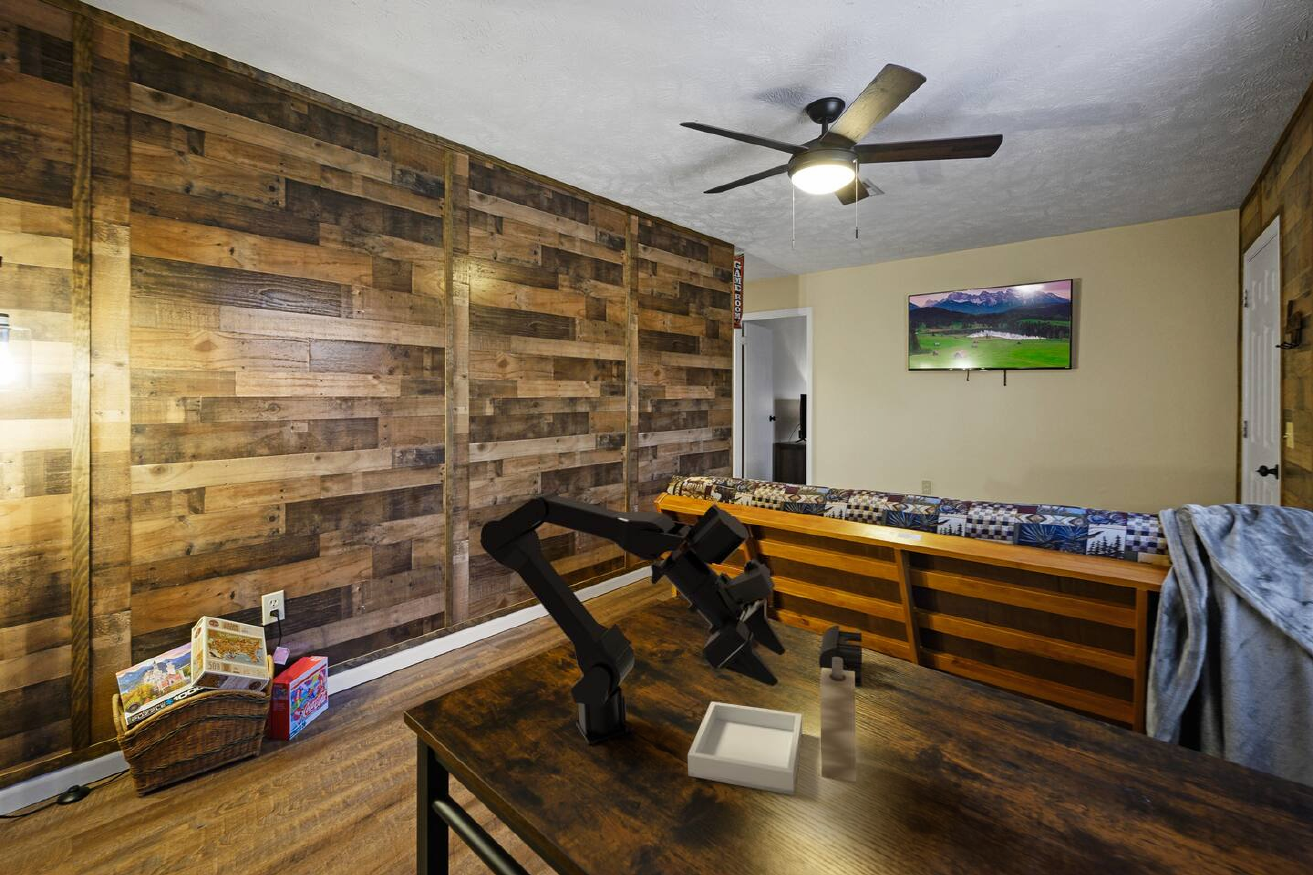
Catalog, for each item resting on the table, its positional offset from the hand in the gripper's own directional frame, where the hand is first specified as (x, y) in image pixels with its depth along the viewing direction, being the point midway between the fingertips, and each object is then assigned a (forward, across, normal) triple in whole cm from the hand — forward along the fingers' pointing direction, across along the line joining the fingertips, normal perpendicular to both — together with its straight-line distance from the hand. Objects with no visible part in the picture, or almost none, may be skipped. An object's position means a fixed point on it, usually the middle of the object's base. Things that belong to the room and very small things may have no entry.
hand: (779, 667), depth 80 cm
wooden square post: (+15, 0, +4) cm, 15 cm away
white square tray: (+6, 0, +13) cm, 14 cm away
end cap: (+15, +28, +4) cm, 32 cm away
